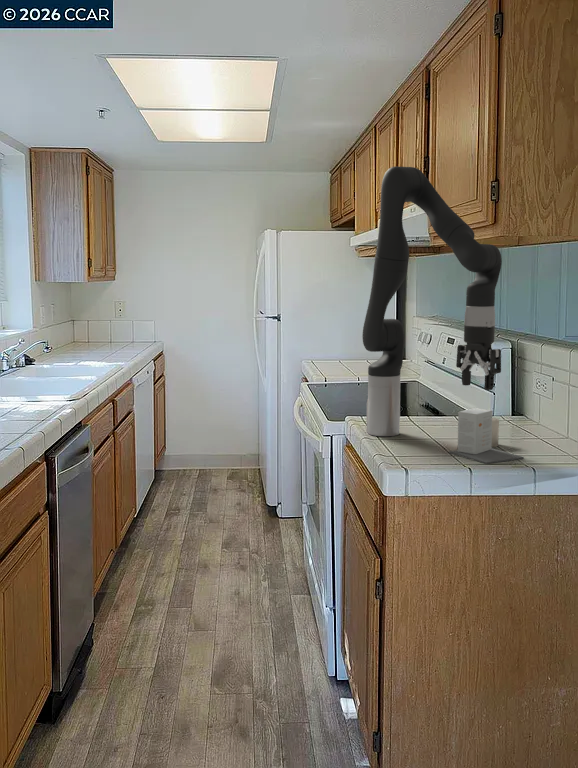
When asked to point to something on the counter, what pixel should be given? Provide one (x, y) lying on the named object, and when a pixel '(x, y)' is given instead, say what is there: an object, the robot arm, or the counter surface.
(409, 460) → the counter surface
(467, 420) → the small box
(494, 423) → the beige rounded block
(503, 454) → the mat
